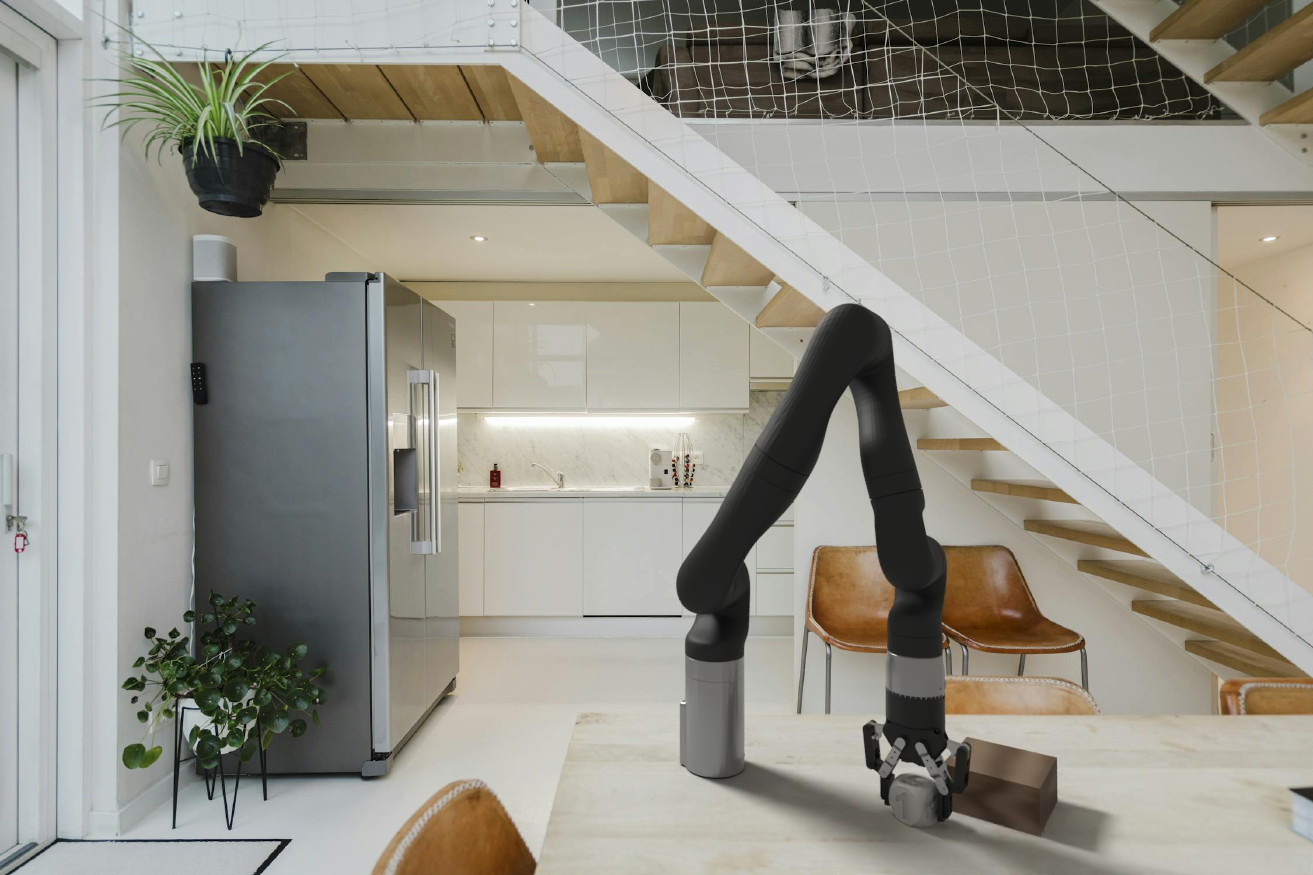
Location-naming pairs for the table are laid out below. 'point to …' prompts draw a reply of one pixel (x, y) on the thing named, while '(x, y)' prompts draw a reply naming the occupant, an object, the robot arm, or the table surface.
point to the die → (914, 799)
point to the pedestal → (1007, 786)
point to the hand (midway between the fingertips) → (915, 811)
